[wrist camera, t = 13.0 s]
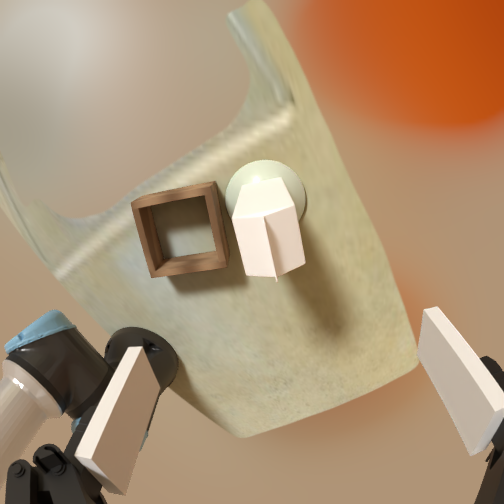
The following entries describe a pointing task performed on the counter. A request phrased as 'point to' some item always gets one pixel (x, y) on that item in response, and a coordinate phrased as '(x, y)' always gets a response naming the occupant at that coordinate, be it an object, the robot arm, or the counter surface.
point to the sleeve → (151, 240)
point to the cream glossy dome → (260, 173)
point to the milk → (267, 229)
